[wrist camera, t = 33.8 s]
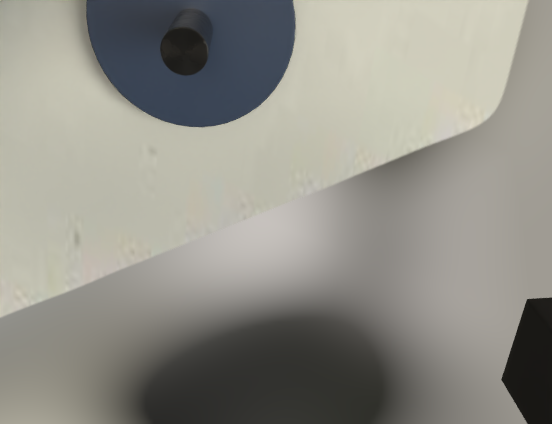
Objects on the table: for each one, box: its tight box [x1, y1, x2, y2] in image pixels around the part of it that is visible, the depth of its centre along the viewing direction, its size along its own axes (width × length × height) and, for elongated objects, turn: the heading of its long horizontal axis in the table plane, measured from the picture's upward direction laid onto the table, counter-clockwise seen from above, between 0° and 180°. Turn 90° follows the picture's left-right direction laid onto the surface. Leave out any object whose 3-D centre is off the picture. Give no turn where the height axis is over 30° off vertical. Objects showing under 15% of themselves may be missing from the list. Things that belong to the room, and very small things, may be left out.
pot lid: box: [86, 0, 295, 127], centre depth 35 cm, size 16×16×9 cm
